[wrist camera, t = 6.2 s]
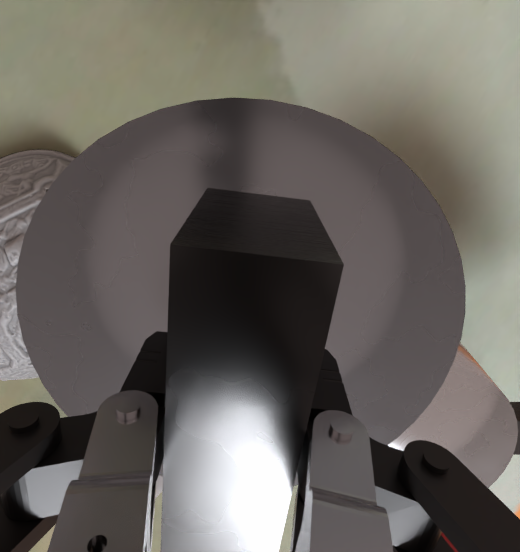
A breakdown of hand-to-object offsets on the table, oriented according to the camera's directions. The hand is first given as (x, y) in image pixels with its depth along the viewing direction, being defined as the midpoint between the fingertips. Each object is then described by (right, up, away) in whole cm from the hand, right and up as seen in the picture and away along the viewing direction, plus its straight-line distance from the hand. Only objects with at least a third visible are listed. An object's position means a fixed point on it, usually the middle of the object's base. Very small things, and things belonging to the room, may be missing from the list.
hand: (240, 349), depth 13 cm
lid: (0, +1, +2) cm, 2 cm away
